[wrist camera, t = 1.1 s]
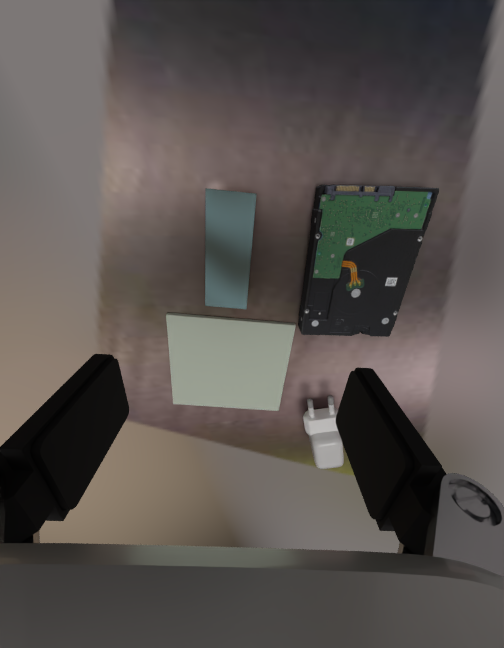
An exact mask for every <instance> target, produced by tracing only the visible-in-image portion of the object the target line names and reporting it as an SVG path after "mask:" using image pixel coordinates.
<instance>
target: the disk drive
mask: <svg viewBox="0 0 504 648" xmlns="http://www.w3.org/2000/svg"><path fill="white" fill-rule="evenodd" d="M438 193H439V188H419V187H394V186H360V185H319V186H317V188H316V194H315V201H314V208H313V211H312V219H311V231H310V239H309V247H308V254H307V261H306V269H305V276H304V285H303V293H302V300H301V305H300V312H299V323H298V325H299V328H300V331H301V334H303V335H340V336H341V335H344V336H352V335H354V334H359V332H361V333H362V334H366V335H370V336H386V337H388V336H390V334H391V331H392V329H393V327H394V324H395V321H396V318H397V313H398V311H399V309H400V306H401V302H402V299H403V297H404V293H405V291H406V288H407V285H408V282H409V278H410V275H411V272H412V270H413V266H414V264H415V260H416V258H417V256H418V252H419V249H420V247H421V244H422V240H423V237H424V234H425V231H426V229H427V227H428V223H429V221H430V218H431V215H432V210H433V207H434V204H435V202H436V199H437V195H438Z"/></svg>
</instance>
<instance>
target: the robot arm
mask: <svg viewBox="0 0 504 648" xmlns="http://www.w3.org/2000/svg"><path fill="white" fill-rule="evenodd" d="M128 414H129V405H128V401H127V397H126V393H125V388H124V384H123V380H122V376H121V371H120V367H119V363H118V360H117V359H114V357H113V356H112V355H107V354H94V355H93V356H92V357H91V358H90V359H89V360H88V361H87V362H86V363H85V364H84V365H83V366H82V367H81V368H80V369H79V370H78V371H77V372H76V373H75V374H74V375H73V376H72V377H71V378H70V379H69V380H68V381H67V382H66V383H65V384H63V386H61V387H60V389H59V390H57V391H56V392H55V393H54V395H52V396H51V398H49V399H48V400H47V401H46V402H45V403H44V404H43V405H42V406H41V407H40V408H39V409H38V410H37V411H36V412H35V413H34V414H33V415H32V416H31V417H30V418H29V419H28V420H27V421H26V422H25V423H24V424H23V425H22V426H21V427H20V428H19V429H18V430H17V431H16V432H15V433H14V434H13V435H12V436H11V437H10V438H9V439H8V440H7V441H6V442H5V443H4V444H3V445H2V446H1V447H0V648H504V507H503V505H502V504H501V503H500V501H499V500H498V499H497V498H496V497H495V496H494V495H493V494H492V493H491V492H490V491H489V490H488V489H486V488H485V487H484V486H483V485H481V484H480V483H478V482H476V481H475V480H473V479H471V478H469V477H467V476H465V475H461V474H457V473H450V474H446V473H445V471H444V470H443V468H442V465H441V464H440V463H439V461H438V460H437V458H436V457H435V456H434V454H433V453H432V451H431V450H430V449H429V447H428V446H427V444H426V443H425V441H424V440H423V439H422V437H421V436H420V434H419V433H418V432H417V430H416V429H415V427H414V426H413V425H412V423H411V422H410V420H409V419H408V418H407V416H406V415H405V413H404V412H403V411H402V409H401V408H400V406H399V405H398V404H397V402H396V401H395V399H394V398H393V397H392V395H391V394H390V392H389V391H388V390H387V388H386V387H385V385H384V384H383V383H382V381H381V380H380V378H379V377H378V376H377V374H376V373H375V371H374V370H373V369H371V368H356V369H355V370H354V371H351V373H350V375H349V378H348V381H347V384H346V388H345V391H344V394H343V397H342V400H341V403H340V406H339V409H338V412H337V415H336V426H337V429H338V432H339V434H340V437H341V440H342V442H343V445H344V448H345V450H346V453H347V456H348V459H349V461H350V464H351V467H352V469H353V472H354V475H355V477H356V480H357V483H358V485H359V488H360V491H361V493H362V496H363V499H364V501H365V504H366V507H367V509H368V512H369V514H370V516H371V517H372V518H373V519H376V522H377V524H378V527H379V530H380V531H395V533H396V535H397V537H398V540H399V541H400V543H399V548H398V552H397V553H382V552H362V551H334V550H306V549H305V550H304V549H276V548H241V547H204V546H167V545H122V544H121V545H120V544H77V543H76V544H75V543H74V544H73V543H40V536H39V530H40V528H41V526H42V525H43V524H44V522H45V520H47V521H64V519H65V517H66V515H67V514H68V512H69V511H70V510H71V509H73V508H75V507H76V506H77V504H78V503H79V501H80V499H81V497H82V496H83V494H84V492H85V490H86V489H87V487H88V485H89V483H90V482H91V480H92V478H93V476H94V475H95V473H96V471H97V469H98V468H99V466H100V464H101V462H102V461H103V459H104V457H105V455H106V454H107V452H108V450H109V448H110V447H111V444H112V443H113V441H114V439H115V438H116V436H117V434H118V432H119V431H120V429H121V427H122V425H123V424H124V422H125V420H126V418H127V416H128Z"/></svg>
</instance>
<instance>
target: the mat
mask: <svg viewBox="0 0 504 648" xmlns="http://www.w3.org/2000/svg"><path fill="white" fill-rule="evenodd" d="M166 320H167V332H168V344H169V356H170V369H171V381H172V393H173V404H183V405H198V406H214V407H229V408H244V409H259V410H274V411H279V406H280V401H281V396H282V391H283V386H284V381H285V376H286V371H287V366H288V361H289V356H290V351H291V346H292V341H293V336H294V331H295V326H296V325H295V323H288V322H276V321H264V320H251V319H239V318H227V317H215V316H203V315H191V314H179V313H167V314H166Z"/></svg>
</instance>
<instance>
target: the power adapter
mask: <svg viewBox="0 0 504 648" xmlns="http://www.w3.org/2000/svg"><path fill="white" fill-rule="evenodd" d="M307 405H308V410H309V411H306V412H305V414H304V416H303V420H304V426H305V431H306V432H307V433H308V434H309V439H310V444H311V448H312V452H313V456H314V460H315V464H316V466H317V467H318V468H319V469H328V468H335V467H340V466H342V465H343V446H342V440H341V437H340V434H339V432H338V429H337V426H336V415H337V412H338V409H337V408H335V407H334V399H333V396H332V395H329V396H328V405H329V408H322V409H315V410H314V409H313V400H312V399H310V398H309V399H307Z"/></svg>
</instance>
